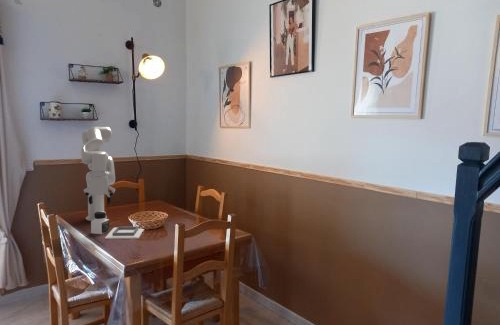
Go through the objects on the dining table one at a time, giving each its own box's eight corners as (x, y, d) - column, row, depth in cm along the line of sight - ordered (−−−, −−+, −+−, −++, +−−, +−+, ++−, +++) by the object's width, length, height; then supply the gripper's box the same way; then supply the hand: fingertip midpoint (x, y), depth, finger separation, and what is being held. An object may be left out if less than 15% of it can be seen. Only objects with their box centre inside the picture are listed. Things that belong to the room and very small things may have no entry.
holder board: (114, 228, 205) (113, 225, 205) (144, 228, 207) (144, 224, 207) (104, 238, 187) (104, 234, 187) (138, 238, 190) (138, 234, 189)
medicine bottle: (102, 234, 194) (101, 214, 193) (90, 233, 196) (90, 213, 194) (109, 230, 201) (109, 211, 200) (98, 229, 203) (98, 210, 201)
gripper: (80, 174, 190) (81, 205, 191) (113, 175, 192) (113, 205, 193) (85, 173, 197) (86, 202, 199) (116, 173, 199) (117, 202, 201)
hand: (99, 203), depth 196 cm, fingers open, 9 cm apart
